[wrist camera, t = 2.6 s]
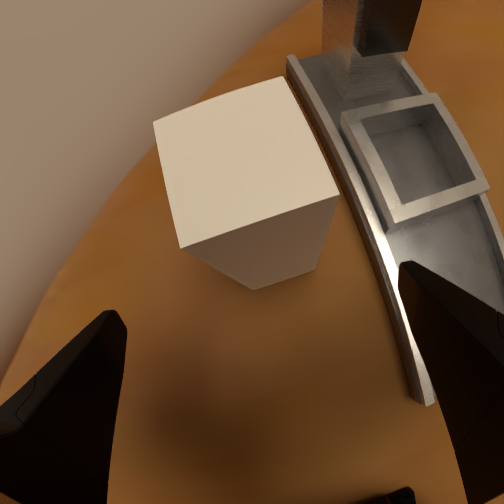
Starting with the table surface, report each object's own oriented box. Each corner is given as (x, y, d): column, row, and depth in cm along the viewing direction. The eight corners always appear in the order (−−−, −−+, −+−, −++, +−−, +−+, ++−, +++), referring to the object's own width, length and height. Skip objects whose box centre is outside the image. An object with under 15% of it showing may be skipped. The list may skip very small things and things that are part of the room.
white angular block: (315, 269, 19) (340, 194, 7) (253, 290, 20) (180, 248, 8) (290, 202, 21) (276, 63, 8) (232, 222, 21) (150, 108, 9)
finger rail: (513, 342, 16) (664, 343, 3) (411, 398, 17) (551, 492, 3) (383, 55, 22) (409, -80, 8) (286, 75, 23) (266, -81, 9)
